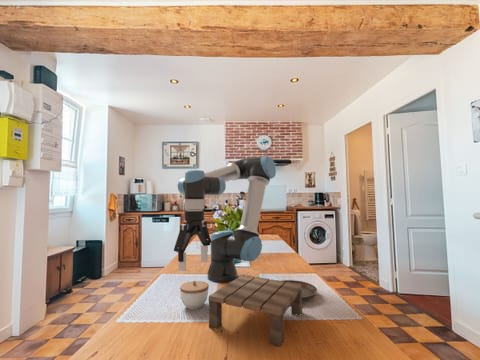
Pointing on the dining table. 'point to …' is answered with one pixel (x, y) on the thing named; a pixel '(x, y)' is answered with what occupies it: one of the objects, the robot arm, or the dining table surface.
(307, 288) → the plant saucer
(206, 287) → the lidded jar
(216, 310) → the walnut rack
